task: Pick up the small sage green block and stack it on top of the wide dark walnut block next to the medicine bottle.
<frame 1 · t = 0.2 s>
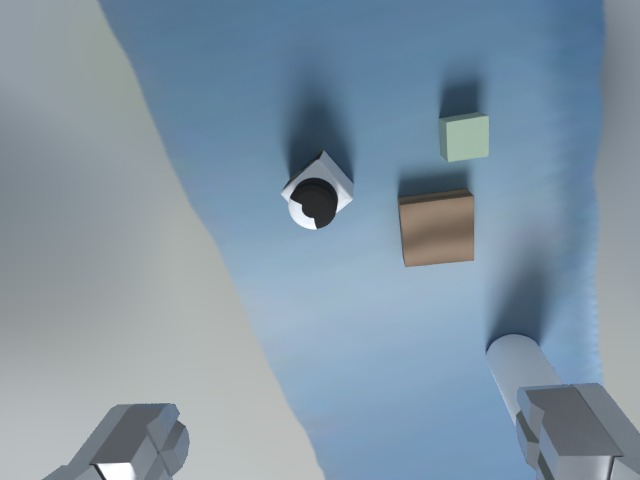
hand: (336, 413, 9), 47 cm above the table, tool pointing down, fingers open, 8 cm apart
sage green block: (458, 133, 50), on the table
walnut block: (432, 223, 56), on the table
medicine bottle: (321, 182, 55), on the table
alcohol: (510, 351, 64), on the table
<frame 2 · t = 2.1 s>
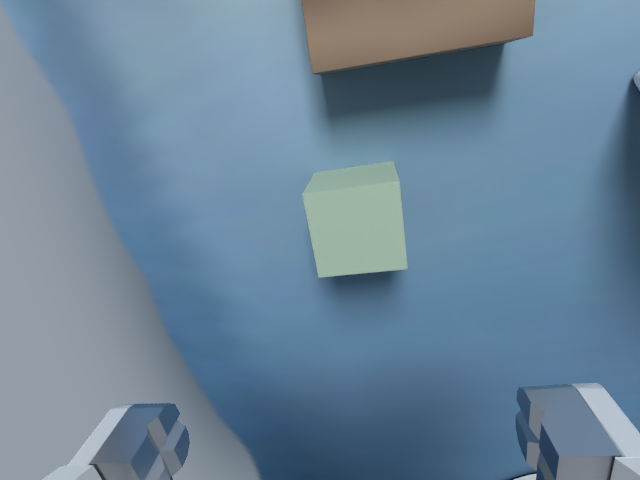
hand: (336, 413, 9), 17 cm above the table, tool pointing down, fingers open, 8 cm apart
sage green block: (358, 203, 24), on the table
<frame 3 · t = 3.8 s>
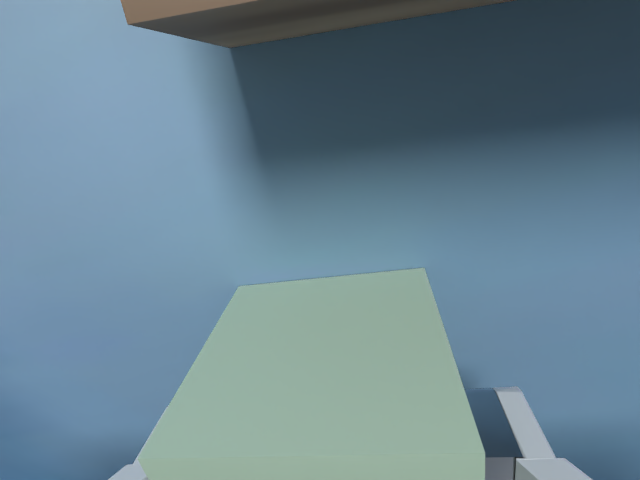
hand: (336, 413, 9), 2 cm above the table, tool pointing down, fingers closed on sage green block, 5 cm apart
sage green block: (341, 351, 11), on the table, touching gripper
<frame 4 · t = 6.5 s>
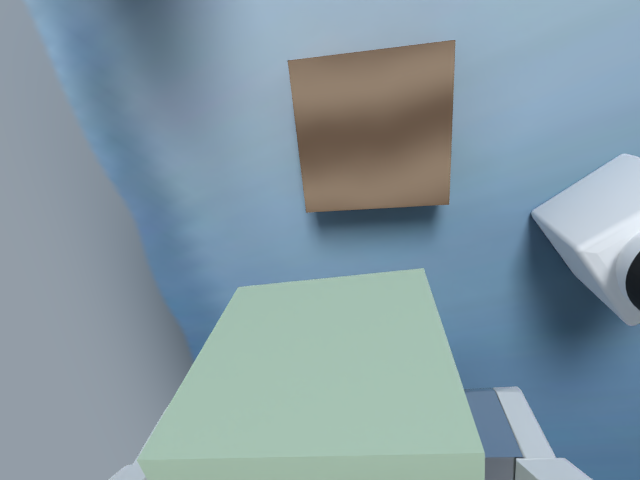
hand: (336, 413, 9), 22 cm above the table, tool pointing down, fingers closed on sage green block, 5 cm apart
sage green block: (340, 352, 11), point 20 cm above the table, touching gripper
walnut block: (372, 128, 27), on the table
medicine bottle: (595, 216, 28), on the table
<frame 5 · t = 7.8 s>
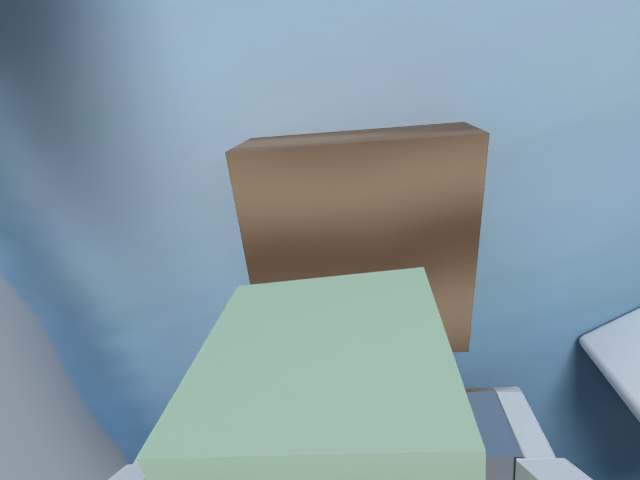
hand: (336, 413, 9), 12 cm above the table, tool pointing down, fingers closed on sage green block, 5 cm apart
sage green block: (340, 351, 11), point 9 cm above the table, touching gripper
walnut block: (358, 226, 19), on the table
when the fingers open (8 cm above the table, at t = 9.1 s): sage green block drops 2 cm, point 4 cm above the table.
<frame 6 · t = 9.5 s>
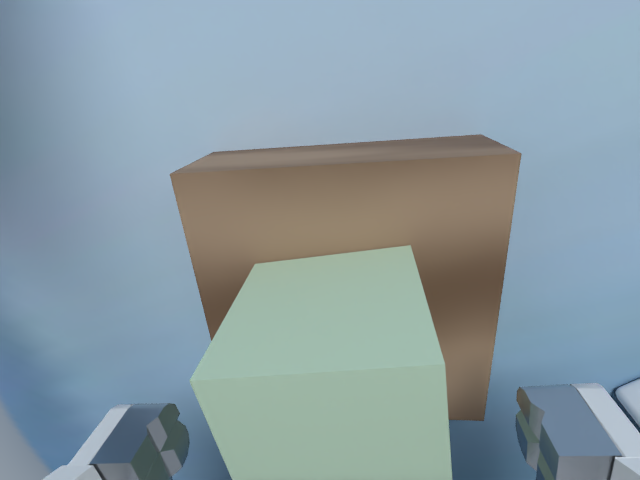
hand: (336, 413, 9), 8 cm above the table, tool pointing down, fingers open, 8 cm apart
sage green block: (342, 319, 12), point 4 cm above the table
walnut block: (348, 257, 16), on the table
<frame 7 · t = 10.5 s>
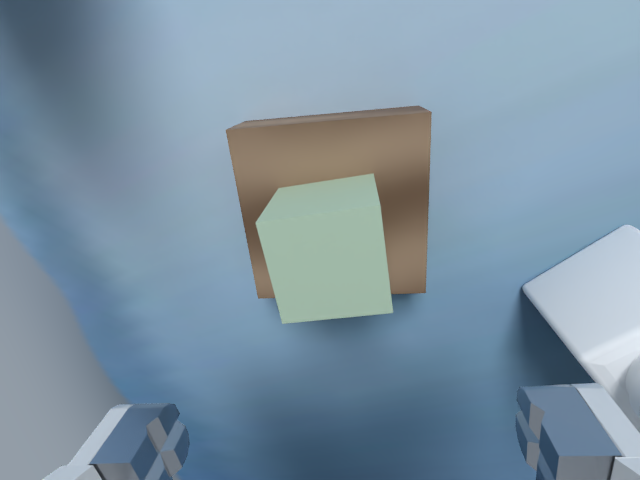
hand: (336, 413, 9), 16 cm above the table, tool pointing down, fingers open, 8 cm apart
sage green block: (332, 225, 20), point 4 cm above the table, touching walnut block
walnut block: (336, 195, 23), on the table, touching sage green block
medicine bottle: (594, 289, 24), on the table
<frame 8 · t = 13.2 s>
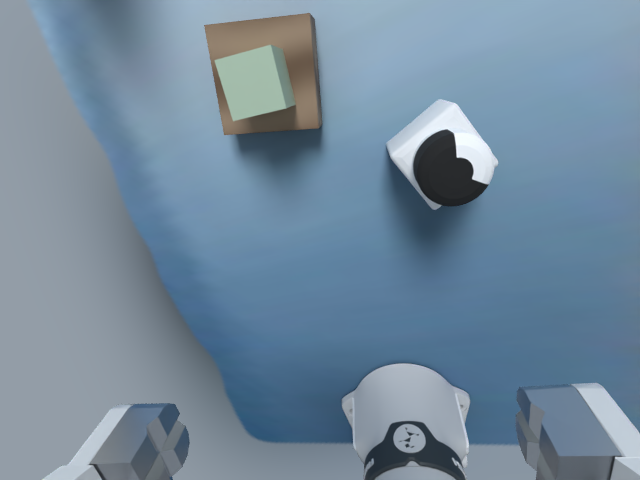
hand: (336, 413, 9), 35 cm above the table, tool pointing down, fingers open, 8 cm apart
sage green block: (265, 83, 35), point 4 cm above the table
walnut block: (272, 78, 39), on the table
medicine bottle: (430, 146, 40), on the table
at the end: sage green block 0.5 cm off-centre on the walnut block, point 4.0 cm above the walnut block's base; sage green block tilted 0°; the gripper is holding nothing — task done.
